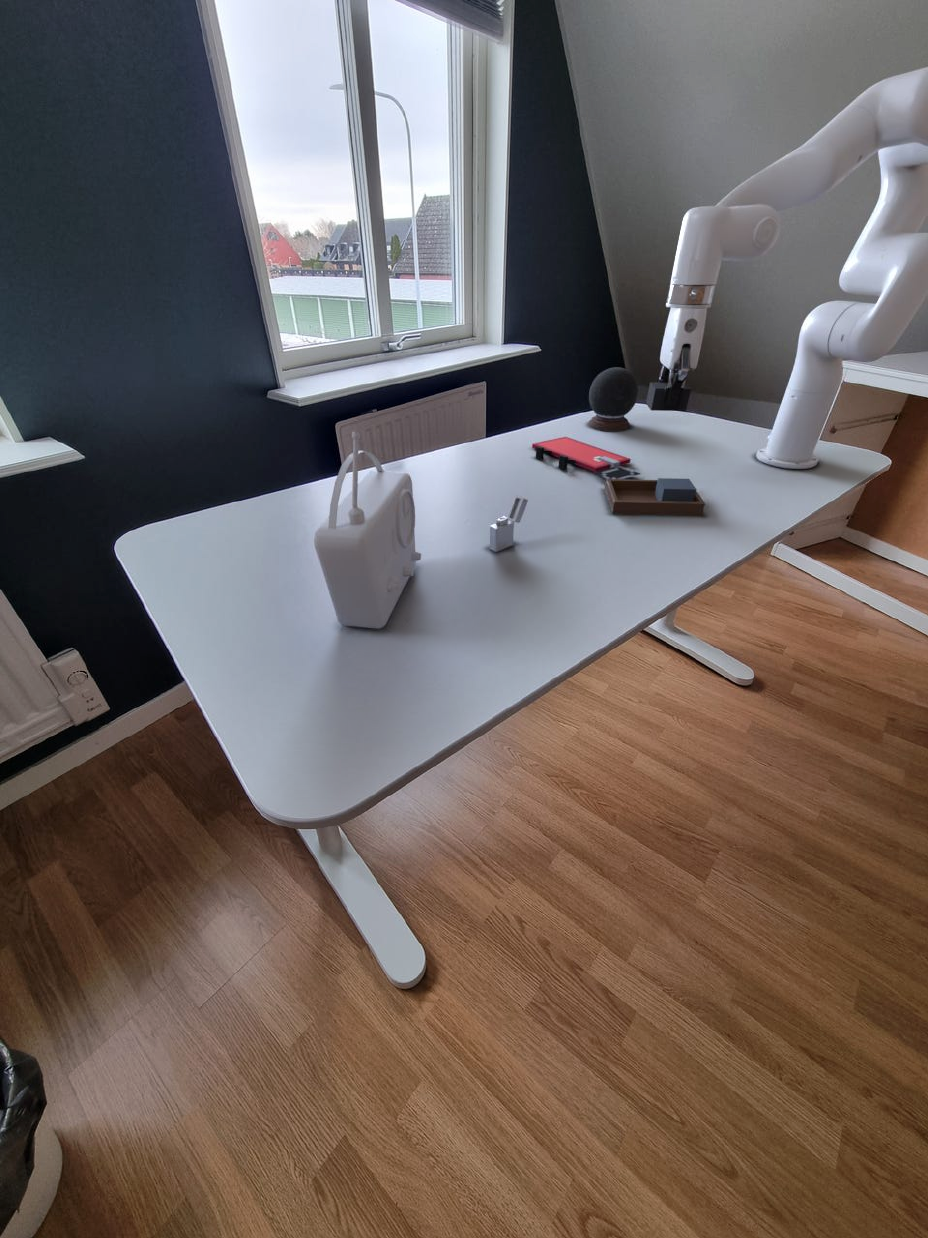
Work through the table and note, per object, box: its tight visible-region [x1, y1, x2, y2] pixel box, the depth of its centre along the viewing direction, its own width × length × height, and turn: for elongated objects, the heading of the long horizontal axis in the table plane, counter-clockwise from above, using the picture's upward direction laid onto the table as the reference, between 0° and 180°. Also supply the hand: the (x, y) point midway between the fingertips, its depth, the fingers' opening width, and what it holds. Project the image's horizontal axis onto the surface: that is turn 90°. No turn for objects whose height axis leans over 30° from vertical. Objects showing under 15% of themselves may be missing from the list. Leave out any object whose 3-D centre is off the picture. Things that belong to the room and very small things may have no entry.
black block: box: [645, 381, 692, 412], centre depth 97 cm, size 6×7×4 cm
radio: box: [313, 431, 422, 630], centre depth 67 cm, size 22×8×25 cm, turn 170°
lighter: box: [489, 495, 529, 553], centre depth 84 cm, size 7×2×8 cm, turn 129°
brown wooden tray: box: [604, 478, 706, 517], centre depth 98 cm, size 12×17×2 cm
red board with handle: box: [531, 436, 642, 480], centre depth 117 cm, size 30×3×15 cm
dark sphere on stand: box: [588, 366, 639, 432], centre depth 138 cm, size 13×13×15 cm
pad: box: [654, 477, 698, 502], centre depth 97 cm, size 6×6×4 cm
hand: (666, 404), depth 98 cm, fingers closed on black block, 5 cm apart
